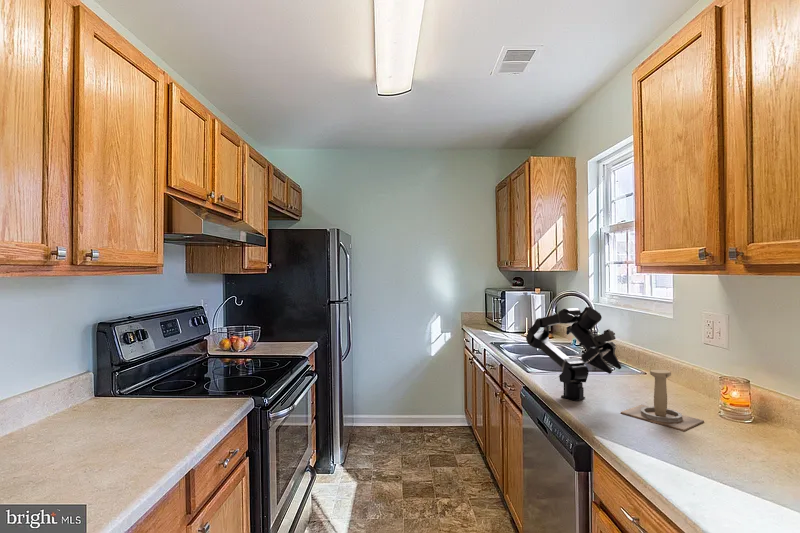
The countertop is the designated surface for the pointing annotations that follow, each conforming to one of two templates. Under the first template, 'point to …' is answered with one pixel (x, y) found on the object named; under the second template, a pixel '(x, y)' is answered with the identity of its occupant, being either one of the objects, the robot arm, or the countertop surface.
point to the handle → (660, 391)
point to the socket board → (670, 420)
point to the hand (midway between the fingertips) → (615, 370)
